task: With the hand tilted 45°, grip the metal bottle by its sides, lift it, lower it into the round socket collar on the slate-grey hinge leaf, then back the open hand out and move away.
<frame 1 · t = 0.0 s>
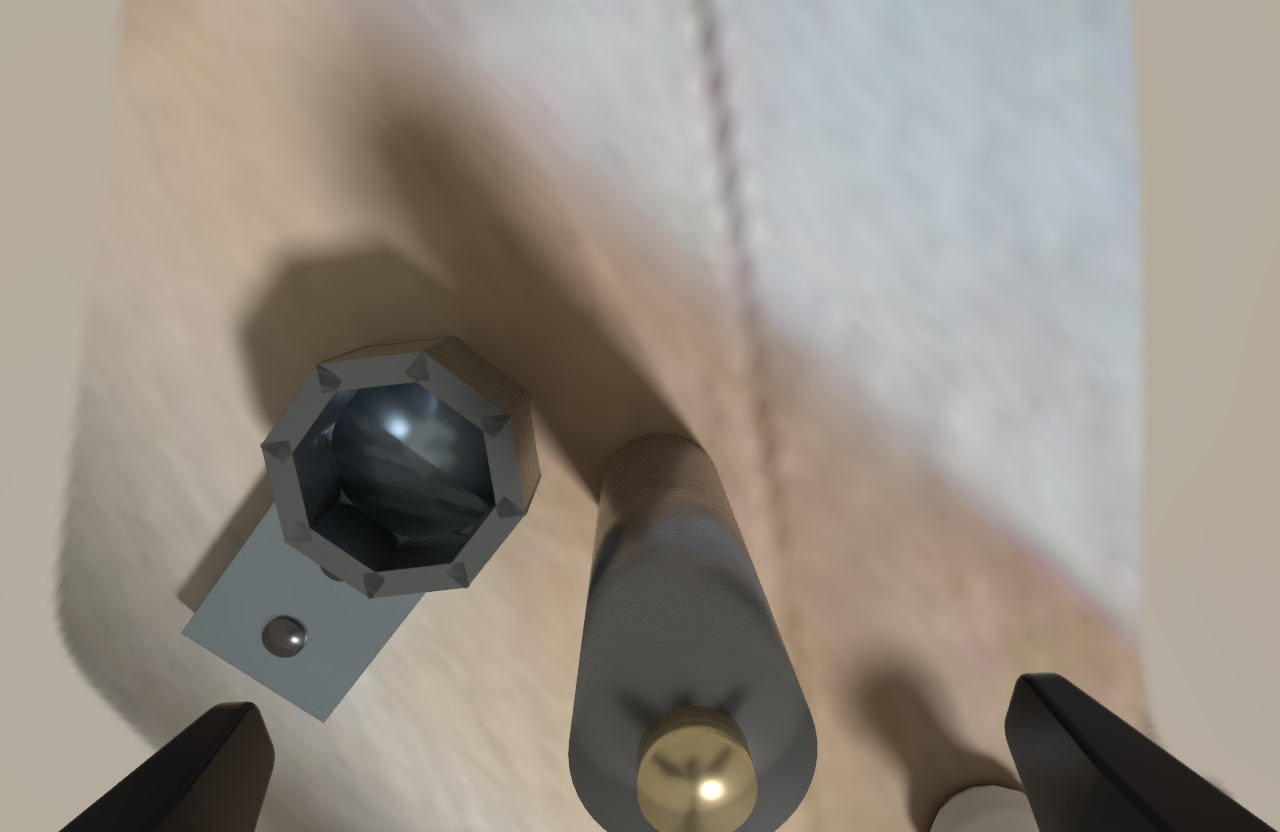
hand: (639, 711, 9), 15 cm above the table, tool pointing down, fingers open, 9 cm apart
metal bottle: (660, 491, 24), on the table
hinge leaf: (428, 447, 24), on the table
rook chess piece: (979, 823, 28), on the table
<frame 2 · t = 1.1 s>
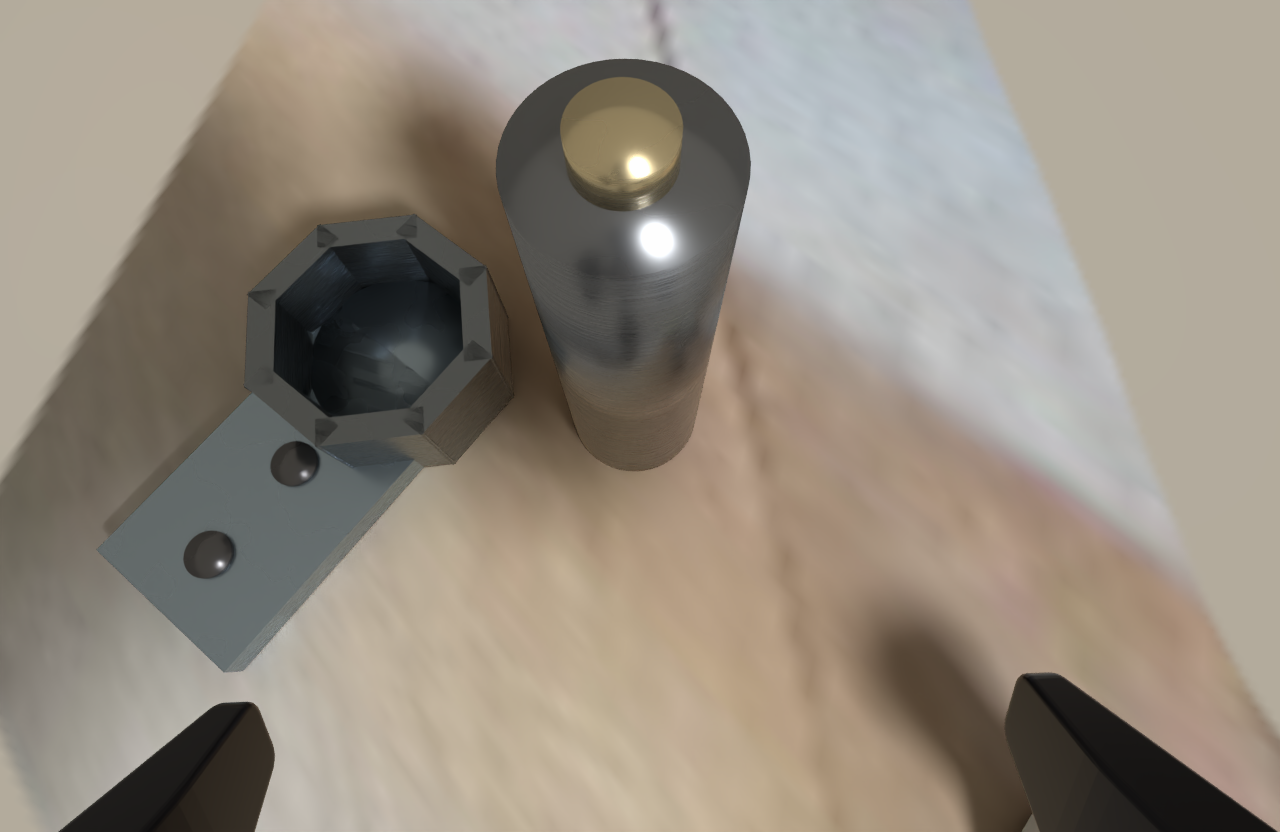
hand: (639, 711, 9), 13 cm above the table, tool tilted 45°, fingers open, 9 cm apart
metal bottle: (634, 411, 24), on the table
hinge leaf: (406, 368, 24), on the table
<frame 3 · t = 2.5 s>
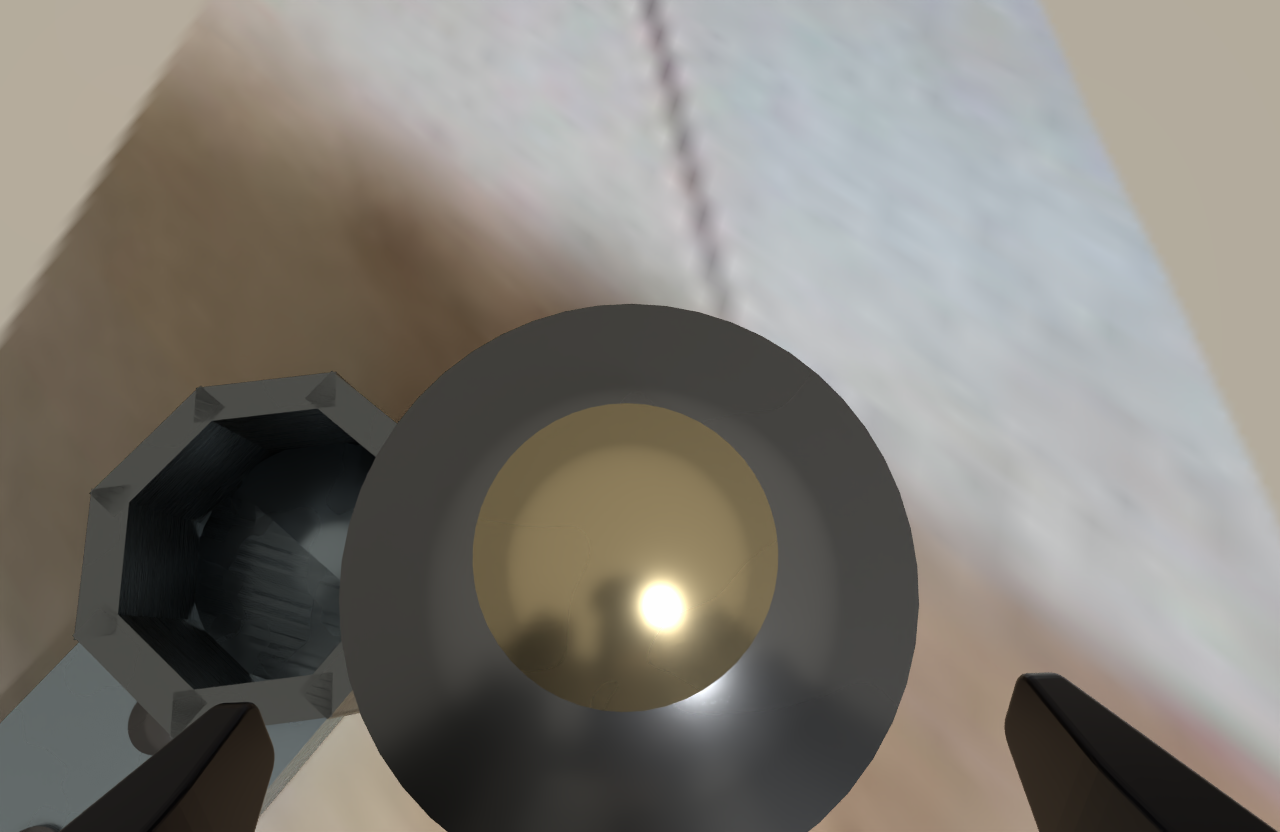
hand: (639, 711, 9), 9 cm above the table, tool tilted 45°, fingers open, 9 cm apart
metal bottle: (640, 626, 17), on the table
hinge leaf: (331, 561, 18), on the table
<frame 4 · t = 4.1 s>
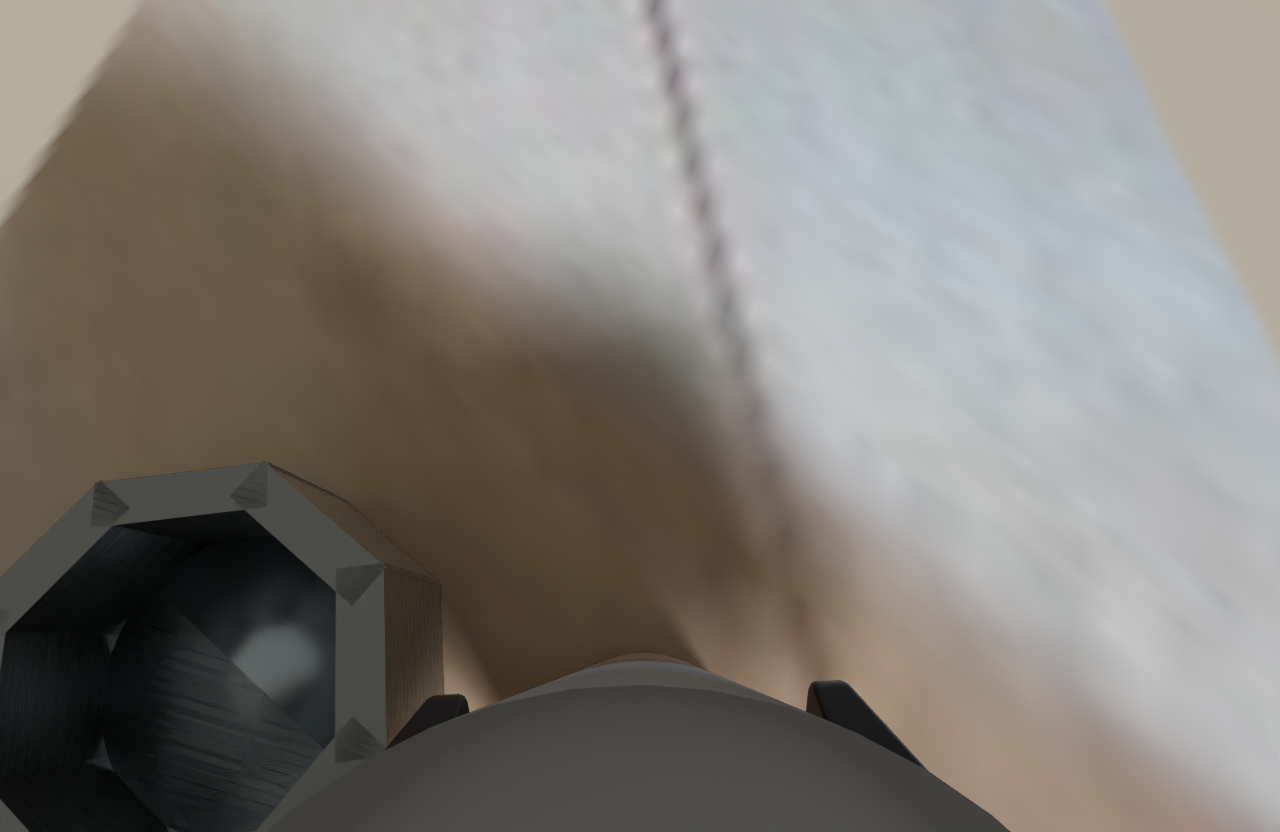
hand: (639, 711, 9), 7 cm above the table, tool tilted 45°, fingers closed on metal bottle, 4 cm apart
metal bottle: (644, 757, 14), on the table, touching gripper
hinge leaf: (273, 674, 15), on the table
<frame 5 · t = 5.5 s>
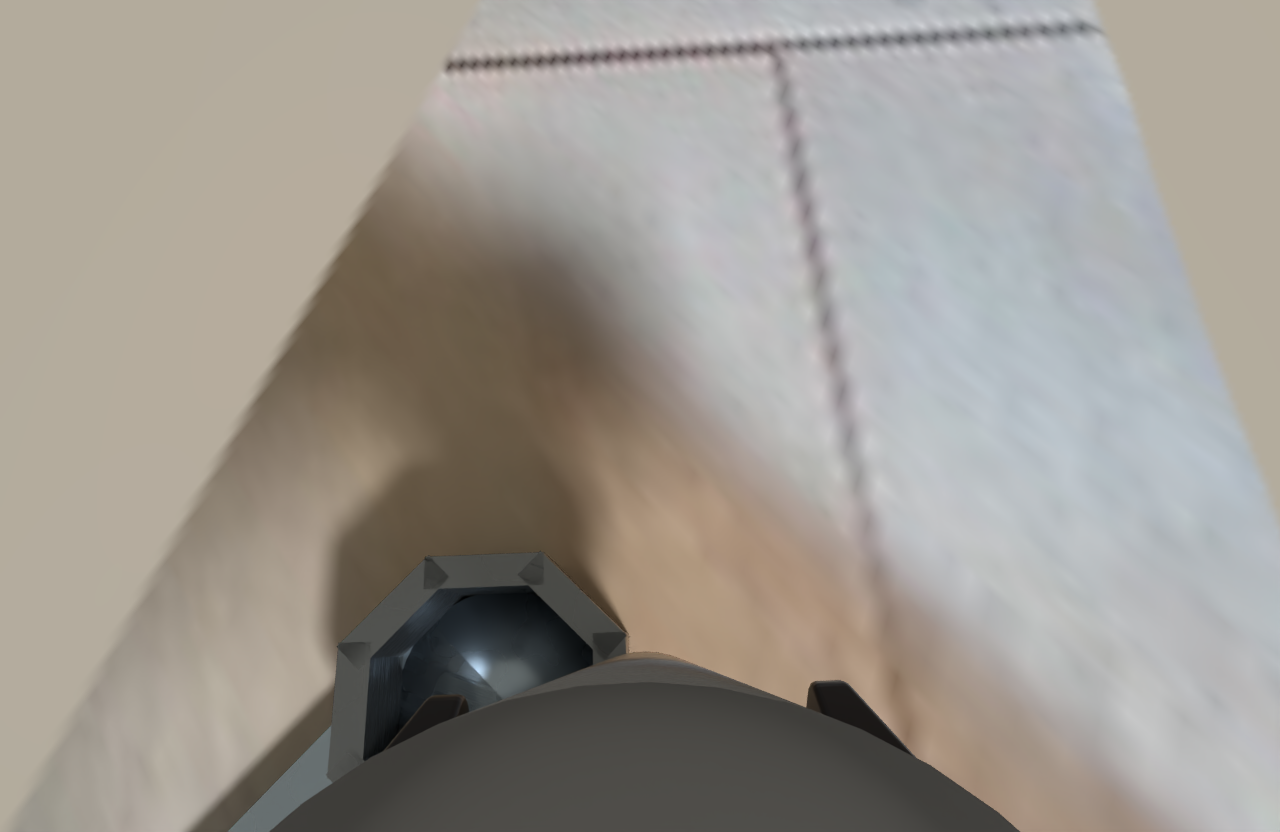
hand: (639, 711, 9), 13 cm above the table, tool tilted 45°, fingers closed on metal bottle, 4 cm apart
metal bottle: (645, 756, 14), point 6 cm above the table, touching gripper
hinge leaf: (507, 693, 20), on the table
when the fingers open (8 cm above the table, at t = 7.1 s): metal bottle stays where it is, resting on hinge leaf.
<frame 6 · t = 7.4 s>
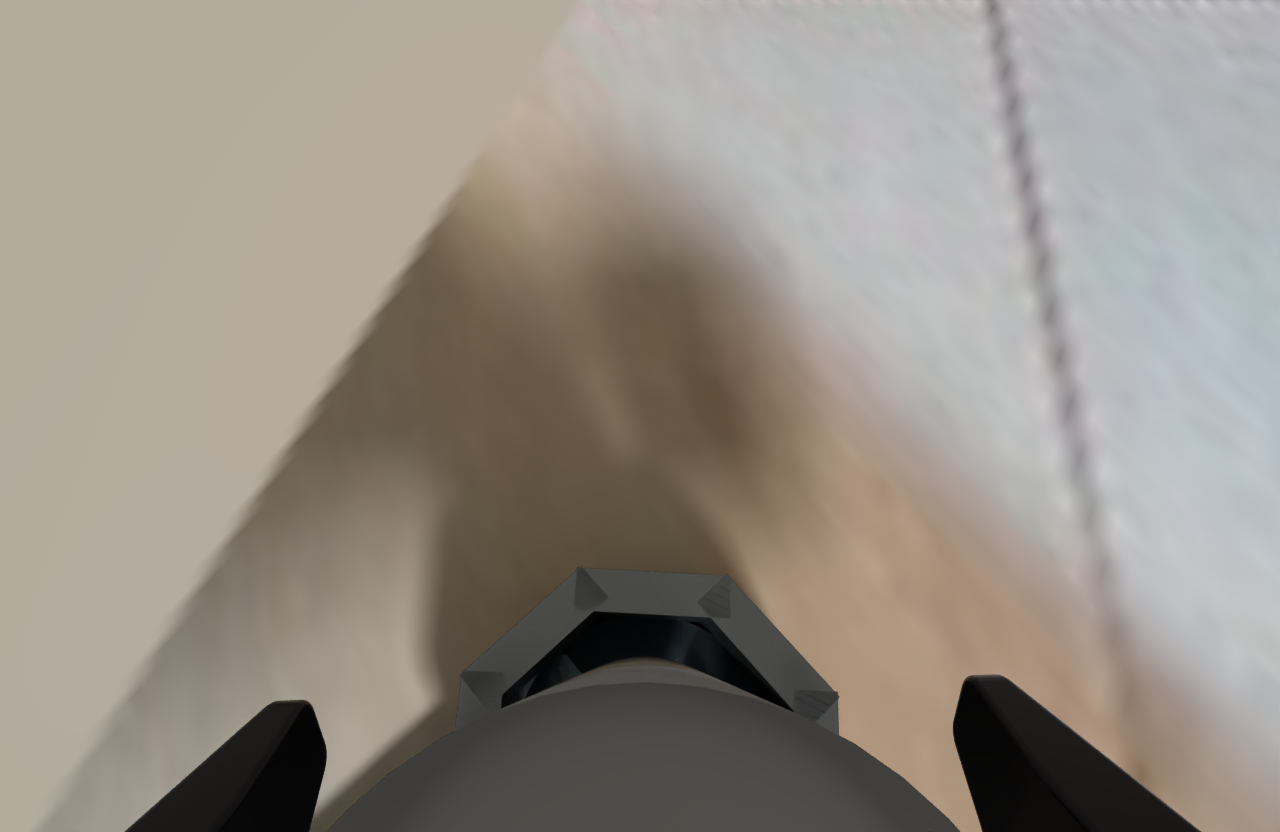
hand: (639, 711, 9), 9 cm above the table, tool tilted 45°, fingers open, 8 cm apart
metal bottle: (644, 754, 15), point 1 cm above the table, touching hinge leaf
hinge leaf: (644, 743, 16), on the table
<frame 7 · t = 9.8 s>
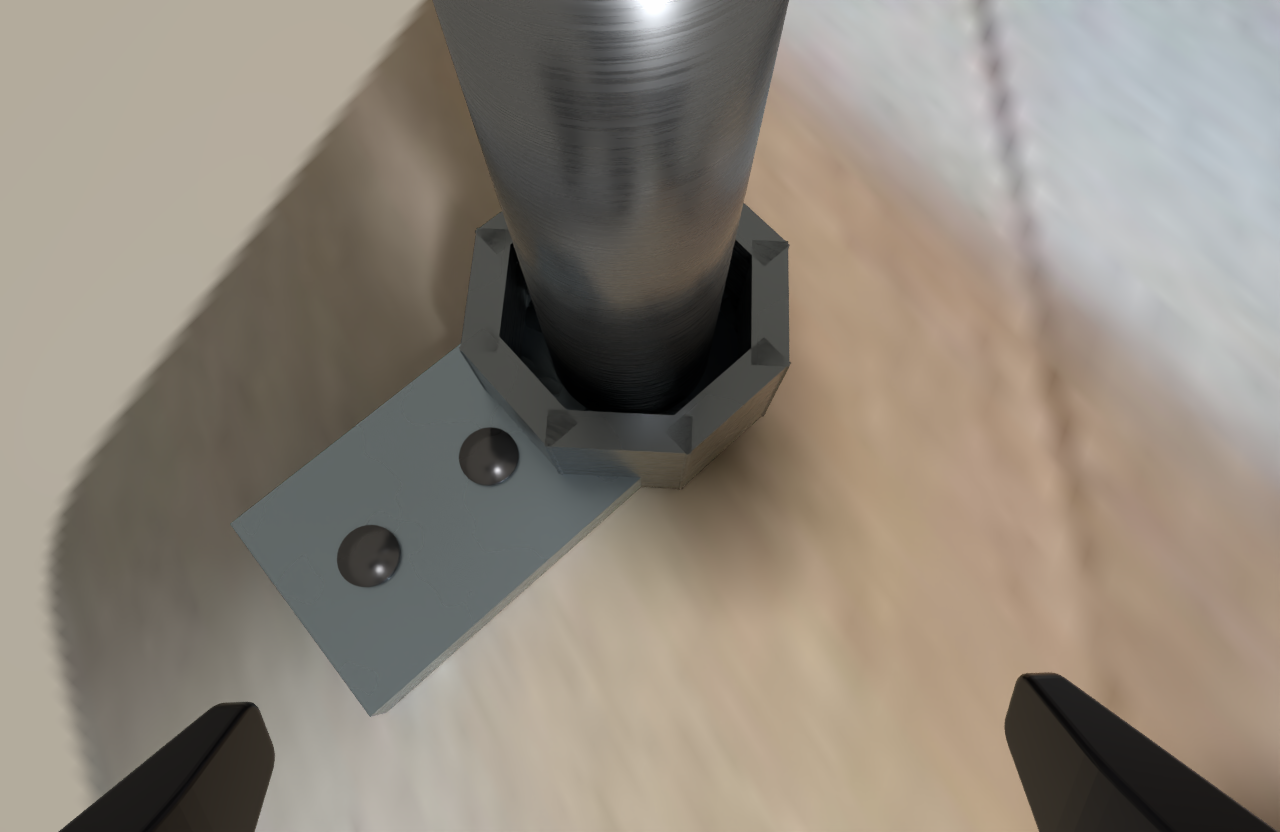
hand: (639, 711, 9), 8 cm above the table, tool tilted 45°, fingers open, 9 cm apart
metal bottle: (630, 343, 18), point 1 cm above the table, touching hinge leaf
hinge leaf: (630, 355, 19), on the table
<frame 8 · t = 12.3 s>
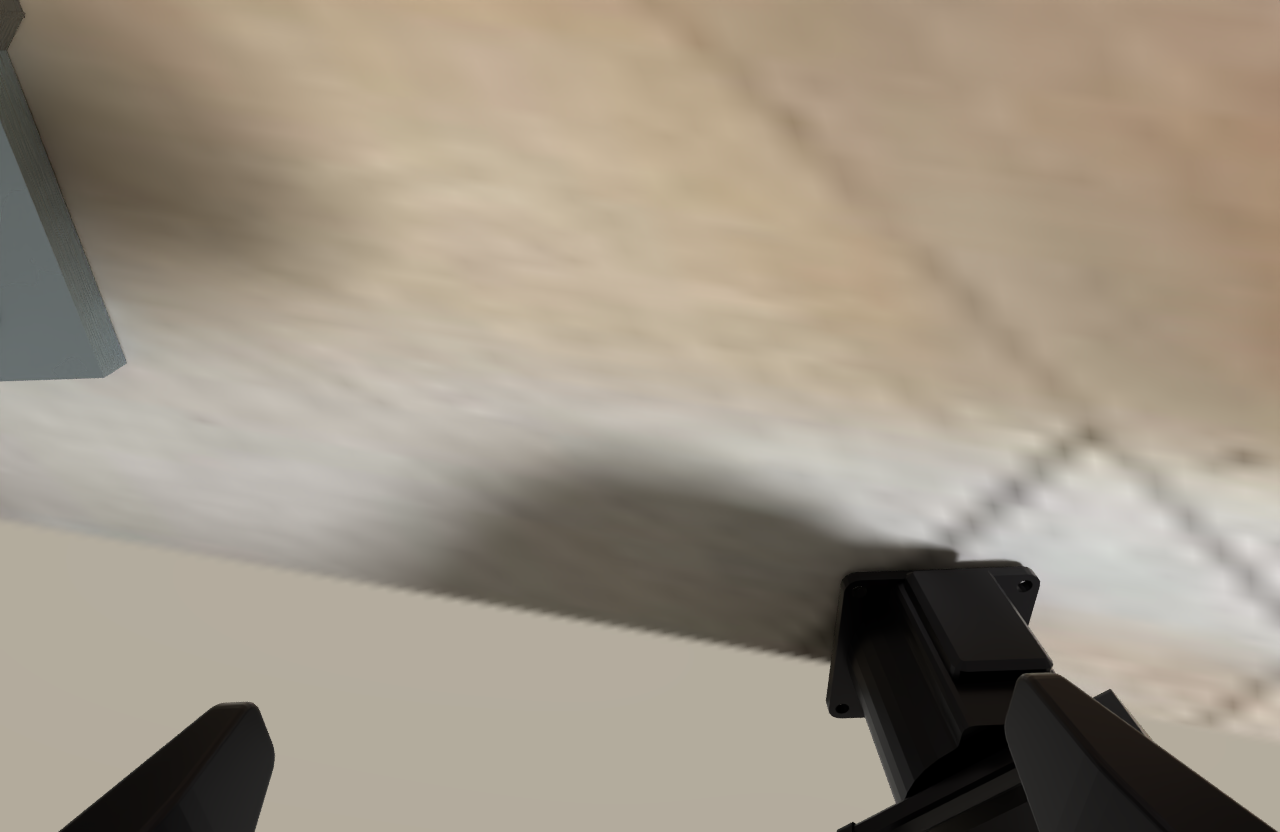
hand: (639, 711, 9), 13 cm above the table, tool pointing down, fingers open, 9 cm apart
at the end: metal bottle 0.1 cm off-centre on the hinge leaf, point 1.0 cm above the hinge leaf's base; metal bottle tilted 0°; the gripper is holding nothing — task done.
